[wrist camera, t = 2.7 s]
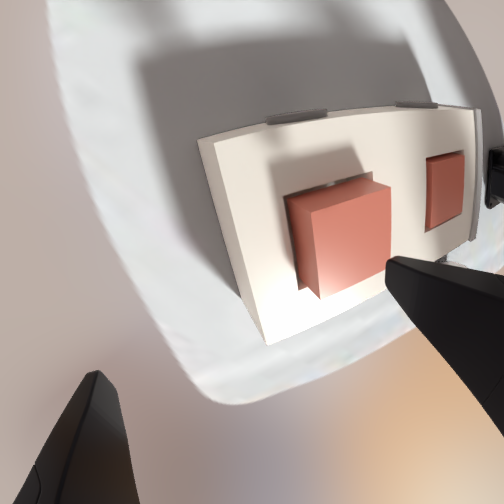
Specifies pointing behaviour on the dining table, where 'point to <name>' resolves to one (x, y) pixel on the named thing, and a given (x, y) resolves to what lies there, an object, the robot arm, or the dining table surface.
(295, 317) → the switch panel
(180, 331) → the dining table surface
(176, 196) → the dining table surface
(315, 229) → the outer button
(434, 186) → the inner button
